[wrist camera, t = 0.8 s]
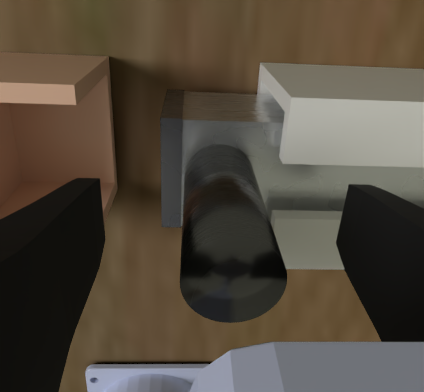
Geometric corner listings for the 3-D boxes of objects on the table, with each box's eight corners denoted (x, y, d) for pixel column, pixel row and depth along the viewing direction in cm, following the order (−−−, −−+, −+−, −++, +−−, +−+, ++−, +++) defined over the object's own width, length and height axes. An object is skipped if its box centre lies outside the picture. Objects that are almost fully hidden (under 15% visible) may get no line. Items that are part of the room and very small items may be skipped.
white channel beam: (432, 196, 21) (518, 271, 15) (247, 191, 20) (268, 268, 15) (473, 71, 18) (597, 108, 12) (260, 62, 17) (291, 97, 12)
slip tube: (420, 185, 19) (605, 348, 11) (167, 179, 19) (146, 348, 10) (446, 99, 17) (698, 210, 9) (167, 89, 17) (140, 200, 8)
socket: (117, 189, 20) (92, 256, 15) (16, 186, 20) (-44, 255, 15) (108, 56, 17) (74, 84, 12) (-10, 51, 17) (-95, 78, 12)
